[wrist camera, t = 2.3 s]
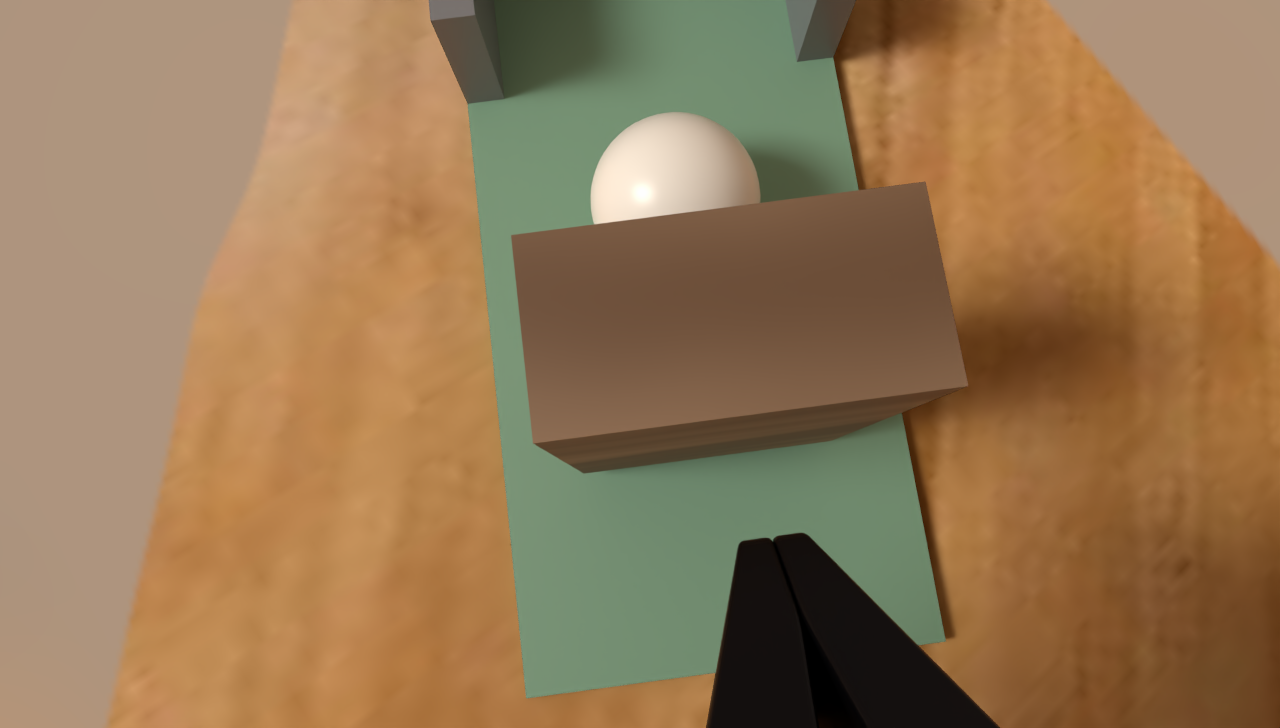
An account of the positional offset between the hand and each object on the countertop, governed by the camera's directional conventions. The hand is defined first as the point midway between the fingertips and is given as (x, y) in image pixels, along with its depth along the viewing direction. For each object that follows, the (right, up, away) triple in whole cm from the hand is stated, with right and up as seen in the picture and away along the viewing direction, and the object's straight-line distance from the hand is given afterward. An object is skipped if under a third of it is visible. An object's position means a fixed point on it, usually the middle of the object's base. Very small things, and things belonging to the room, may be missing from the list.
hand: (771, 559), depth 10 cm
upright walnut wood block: (0, +2, +10) cm, 10 cm away
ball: (-1, +6, +9) cm, 11 cm away
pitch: (-1, +5, +11) cm, 12 cm away
